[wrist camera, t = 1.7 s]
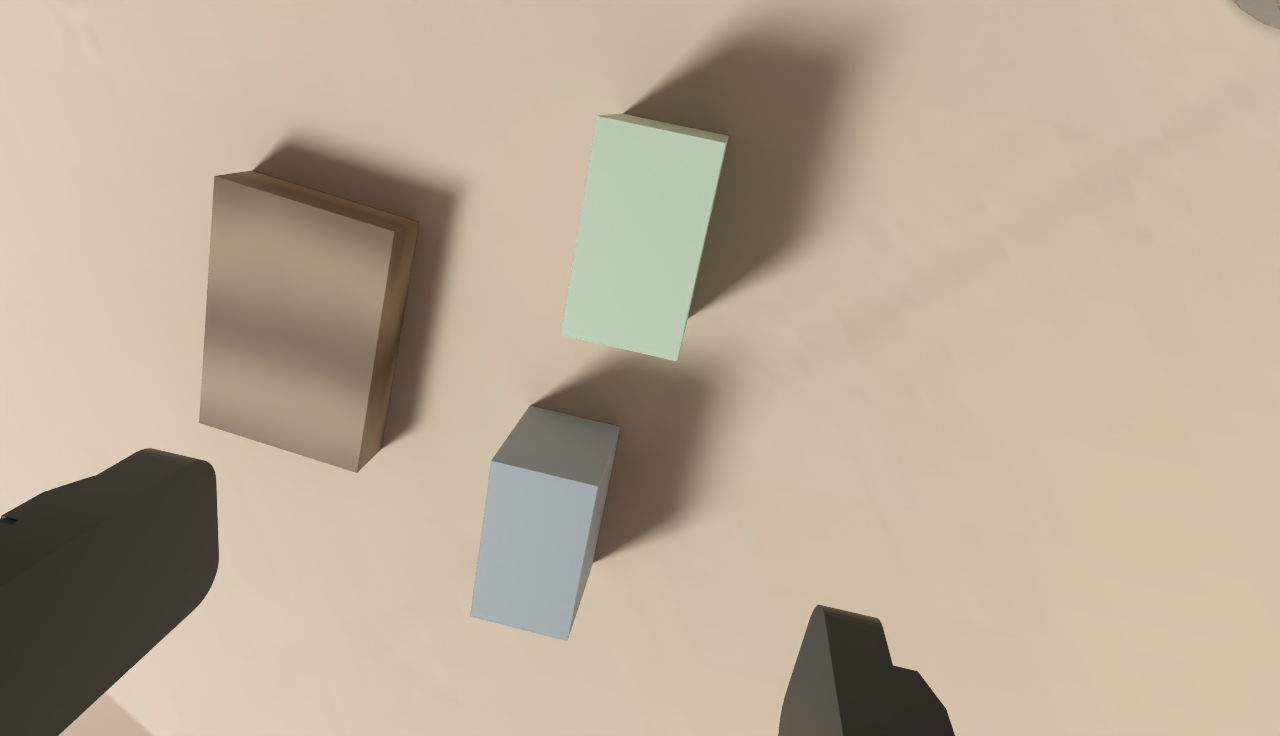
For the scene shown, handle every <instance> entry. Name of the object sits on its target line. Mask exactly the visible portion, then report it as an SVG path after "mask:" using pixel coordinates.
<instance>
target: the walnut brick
mask: <svg viewBox="0 0 1280 736" xmlns="http://www.w3.org/2000/svg"><path fill="white" fill-rule="evenodd" d="M418 227H419V222H417V221H414V220H410V219H407V218H404V217H401V216H398V215H394V214H391V213H388V212H385V211H381V210H378V209H375V208H372V207H368V206H365V205H362V204H359V203H355V202H352V201H349V200H346V199H343V198H339V197H336V196H333V195H330V194H326V193H323V192H320V191H317V190H313V189H310V188H307V187H304V186H301V185H297V184H294V183H291V182H288V181H284V180H281V179H278V178H275V177H271V176H268V175H265V174H262V173H258V172H255V171H246V172H240V173H233V174H226V175H219V176H214V192H213V208H212V224H211V241H210V257H209V273H208V289H207V305H206V321H205V337H204V353H203V369H202V385H201V401H200V418H199V423H201V424H205V425H208V426H211V427H214V428H217V429H220V430H223V431H227V432H230V433H233V434H236V435H239V436H242V437H246V438H249V439H252V440H255V441H258V442H261V443H264V444H268V445H271V446H274V447H277V448H280V449H283V450H287V451H290V452H293V453H296V454H299V455H302V456H305V457H309V458H312V459H315V460H318V461H321V462H324V463H328V464H331V465H334V466H337V467H340V468H343V469H346V470H350V471H353V472H356V473H357V472H358V471H359V470H360V469H361V468H362V467H363V466H364V465H365V464H366V463H367V462H368V461H370V460H371V459H372V458H373V457H374V456H375V455H376V454H377V453H378V452H379V451H380V450H381V447H382V441H383V435H384V429H385V423H386V417H387V411H388V405H389V399H390V393H391V387H392V382H393V376H394V370H395V364H396V358H397V352H398V346H399V340H400V334H401V328H402V322H403V316H404V310H405V304H406V298H407V292H408V286H409V280H410V274H411V268H412V262H413V256H414V250H415V245H416V239H417V233H418Z"/></svg>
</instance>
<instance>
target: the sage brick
mask: <svg viewBox="0 0 1280 736" xmlns="http://www.w3.org/2000/svg"><path fill="white" fill-rule="evenodd" d="M728 139H729V136H727V135H722V134H718V133H713V132H708V131H703V130H699V129H694V128H689V127H684V126H679V125H675V124H670V123H665V122H660V121H656V120H651V119H646V118H641V117H637V116H632V115H627V114H612V115H601V116H596V122H595V128H594V134H593V141H592V147H591V153H590V159H589V165H588V171H587V177H586V184H585V190H584V196H583V202H582V208H581V214H580V220H579V227H578V233H577V239H576V245H575V251H574V257H573V264H572V270H571V276H570V282H569V288H568V294H567V300H566V307H565V313H564V319H563V325H562V331H561V335H563V336H567V337H572V338H576V339H581V340H585V341H589V342H594V343H598V344H603V345H607V346H611V347H616V348H620V349H625V350H629V351H633V352H638V353H642V354H647V355H651V356H655V357H660V358H664V359H668V360H673V361H677V359H678V355H679V351H680V347H681V343H682V340H683V336H684V332H685V328H686V324H687V320H688V316H689V311H690V307H691V302H692V298H693V293H694V289H695V285H696V280H697V276H698V271H699V267H700V263H701V258H702V254H703V249H704V245H705V240H706V236H707V232H708V227H709V223H710V218H711V214H712V209H713V205H714V201H715V196H716V192H717V187H718V183H719V179H720V174H721V170H722V165H723V161H724V156H725V152H726V148H727V143H728Z"/></svg>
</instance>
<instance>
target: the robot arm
mask: <svg viewBox="0 0 1280 736" xmlns="http://www.w3.org/2000/svg"><path fill="white" fill-rule="evenodd" d="M1233 1H1234V2H1235V3H1236V4H1237V5H1238V6H1239V7H1240V8H1241V9H1242V10H1243V11H1245V12H1246V13H1248V14H1249V15H1251V16H1252V17H1254V18H1256V19H1257V20H1259V21H1260V22H1262V23H1263V24H1266V25H1269V26H1273V27H1276V28H1279V29H1280V0H1233ZM218 563H219V547H218V518H217V490H216V475H215V471H214V469H213V467H212V465H211V464H210V463H208V462H207V461H204V460H199V459H195V458H191V457H186V456H182V455H178V454H173V453H169V452H165V451H160V450H156V449H152V448H150V449H143V450H140V451H138V452H136V453H134V454H132V455H131V456H129V457H127V458H126V459H124V460H122V461H120V462H119V463H117V464H115V465H113V466H112V467H110V468H108V469H107V470H105V471H103V472H101V473H100V474H98V475H96V476H92V477H89V478H86V479H82V480H79V481H76V482H73V483H70V484H67V485H64V486H61V487H58V488H55V489H52V490H49V491H46V492H43V493H41V494H39V495H37V496H36V497H34V498H32V499H30V500H29V501H27V502H25V503H23V504H21V505H20V506H18V507H16V508H14V509H12V510H11V511H9V512H7V513H5V514H4V515H2V516H1V519H0V736H58V735H59V734H60V733H61V732H62V731H64V730H65V729H66V728H67V727H68V726H69V725H70V724H71V723H72V722H73V721H74V720H76V719H77V718H78V717H79V716H80V715H81V714H82V713H83V712H84V711H85V710H86V709H87V708H88V707H89V706H91V705H92V704H93V703H94V702H95V701H96V700H97V699H98V698H99V697H100V696H101V695H102V694H104V693H105V692H106V691H107V690H108V689H109V688H110V687H111V686H112V685H113V684H114V683H115V682H117V681H118V680H119V679H120V678H121V677H122V676H123V675H124V674H125V673H126V672H127V671H128V670H129V669H131V668H132V667H133V666H134V665H135V664H136V663H137V662H138V661H139V660H140V659H141V658H142V657H143V656H145V655H146V654H147V653H148V652H149V651H150V650H151V649H152V648H153V647H154V646H155V645H156V644H158V643H159V642H160V641H161V640H162V639H163V638H164V637H165V636H166V635H167V634H168V633H169V632H170V631H172V630H173V629H174V628H175V627H176V626H177V625H178V624H179V623H180V622H181V621H182V620H183V619H184V618H186V617H187V616H188V615H189V614H190V613H191V612H192V611H193V610H194V609H195V608H196V607H197V606H198V605H199V604H200V603H201V602H202V600H203V599H204V598H205V596H206V595H207V593H208V591H209V589H210V588H211V586H212V583H213V581H214V578H215V576H216V572H217V568H218ZM778 736H955V734H954V731H953V728H952V725H951V722H950V719H949V716H948V713H947V710H946V708H945V707H944V706H943V704H942V703H941V702H940V700H939V699H938V698H937V696H936V695H935V694H934V692H933V691H932V690H931V688H930V687H929V686H928V684H927V683H926V682H925V681H924V679H923V678H922V677H921V675H920V674H919V673H918V671H914V670H910V669H905V668H901V667H897V666H893V664H892V661H891V657H890V653H889V649H888V645H887V642H886V638H885V634H884V630H883V627H882V624H881V622H880V620H879V619H878V618H874V617H870V616H865V615H861V614H857V613H852V612H848V611H844V610H839V609H835V608H831V607H826V606H822V605H817V606H816V607H815V609H814V610H813V613H812V615H811V617H810V620H809V623H808V626H807V630H806V633H805V636H804V639H803V642H802V645H801V648H800V651H799V654H798V657H797V660H796V664H795V667H794V670H793V673H792V676H791V679H790V682H789V685H788V688H787V691H786V695H785V698H784V702H783V706H782V711H781V717H780V724H779V734H778Z"/></svg>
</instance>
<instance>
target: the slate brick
mask: <svg viewBox="0 0 1280 736" xmlns="http://www.w3.org/2000/svg"><path fill="white" fill-rule="evenodd" d="M619 432H620V426H615V425H611V424H607V423H603V422H598V421H594V420H590V419H585V418H581V417H577V416H573V415H568V414H564V413H560V412H556V411H551V410H547V409H543V408H538V407H534V406H529V408H528V409H527V411H526V412H525V414H524V415H523V416H522V418H521V419H520V421H519V422H518V424H517V425H516V426H515V428H514V429H513V431H512V432H511V433H510V435H509V436H508V438H507V439H506V441H505V442H504V443H503V445H502V446H501V448H500V449H499V451H498V452H497V453H496V455H495V456H494V458H493V459H492V460H491V466H490V474H489V481H488V488H487V496H486V503H485V510H484V518H483V525H482V533H481V540H480V547H479V555H478V562H477V569H476V577H475V584H474V592H473V599H472V606H471V614H470V617H474V618H478V619H482V620H486V621H490V622H494V623H498V624H502V625H506V626H510V627H514V628H518V629H522V630H526V631H530V632H534V633H538V634H542V635H546V636H550V637H554V638H558V639H562V640H566V641H568V638H569V635H570V632H571V628H572V625H573V622H574V619H575V616H576V613H577V610H578V607H579V604H580V601H581V598H582V595H583V592H584V589H585V586H586V583H587V580H588V576H589V573H590V570H591V567H592V564H593V560H594V555H595V550H596V545H597V540H598V535H599V530H600V525H601V520H602V516H603V511H604V506H605V501H606V496H607V491H608V486H609V481H610V476H611V471H612V466H613V461H614V456H615V452H616V447H617V442H618V437H619Z"/></svg>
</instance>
